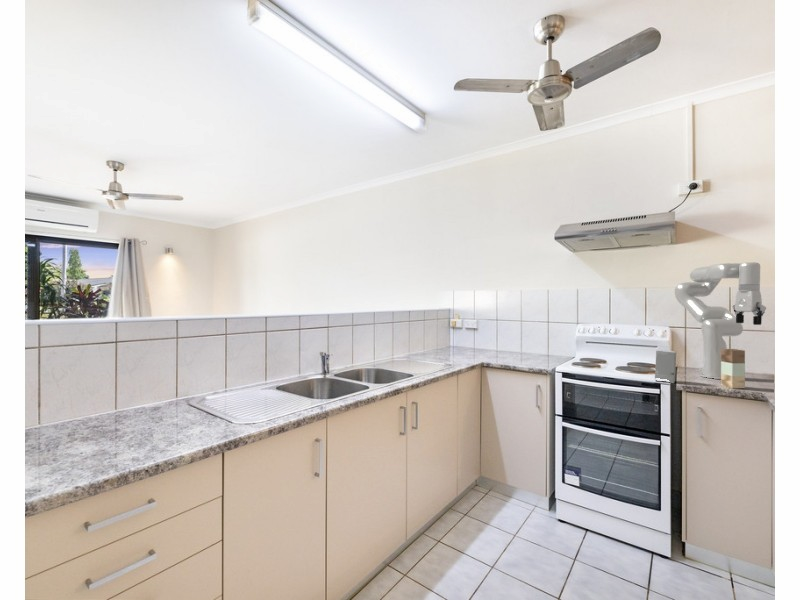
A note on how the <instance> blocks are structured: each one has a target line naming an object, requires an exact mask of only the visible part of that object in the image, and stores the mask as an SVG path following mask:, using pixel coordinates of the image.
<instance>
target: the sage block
mask: <svg viewBox="0 0 800 600" xmlns="http://www.w3.org/2000/svg"><path fill="white" fill-rule="evenodd" d="M721 374H725V375H729V376H745V377H746V362H745V363H728V362H722V361H721Z"/></svg>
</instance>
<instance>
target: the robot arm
mask: <svg viewBox="0 0 800 600" xmlns="http://www.w3.org/2000/svg"><path fill="white" fill-rule="evenodd" d="M689 278H690V280H691V282H682V283H678V284H677V285H676V286H675V288H674V295H675V299H676V300H677V302H678V303H679V304H680V305H681V306H682V307H684V308H685V309H686V310H687V311H688V313H689V314H690V315H691V316H692V317H693V318H694V319H695V320H696V322H698V323H701V327H700V329H701V332H702V336H703V338H702V339H703V366H702V367H700V368H699V370H700V371H702V372H701V373H699V376H701V377H703V378H706V377H707V379H712V378H714V379H715V380H721V349H728V347H727V346H728V345H727V343H726V341H725V339H724V338H723V337H737V336H740V335H742V333H743V331H744V327H743V325H742V324H744V322H745V321H744V319H745V318H744V317H745V315H744V314H745V313H749V312H750V313H752V314H753V315H754V316H752V317H753V318H752V324H753V325H756V326H761V325H762V319H763V318H762V317H763V316H764V314H765V313H766V312H765V311H766V310H767V307H766V306H765V305H764V304H763V301H762V300H763V299H762V293H761V289H760V288H761V263H759V262H741V263H739V262H737V263H735V262H734V263H717V264H710V265H708V266H703V267H696V268H693V270H692V271H690V273H689ZM722 279H738V291H737V290H736V291H737V292H736V295H735V300H734V301H735V302H734V305H732V309H733V312H734V314H733V313H732V312H731V311H730V310H729V309H727V308H725V307H723V306H711V305H707V304H706V303H704V301H703V300H701V299H699V297H702V298H703V297H708V296H710V295H711V294H712V293H713V292H714V290H715V289H716V288H717V286H718V285H719V284H720V282H721V280H722ZM692 281H693V282H692ZM714 379H713V380H714Z"/></svg>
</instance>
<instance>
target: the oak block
mask: <svg viewBox="0 0 800 600" xmlns="http://www.w3.org/2000/svg"><path fill="white" fill-rule="evenodd" d="M720 382H721V383H720V386H721V385H722V386H721V387H723V386H726V387H725V388H727V387H729V388H728V389H731V388H745V389H746V375H745V376H729V375H725V374H721V379H720Z"/></svg>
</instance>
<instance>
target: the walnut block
mask: <svg viewBox="0 0 800 600" xmlns="http://www.w3.org/2000/svg"><path fill="white" fill-rule="evenodd" d="M721 361H722V362H728V363H745V364H746V350H743V349H737V348H736V349H735V348H727V349H721Z"/></svg>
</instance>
